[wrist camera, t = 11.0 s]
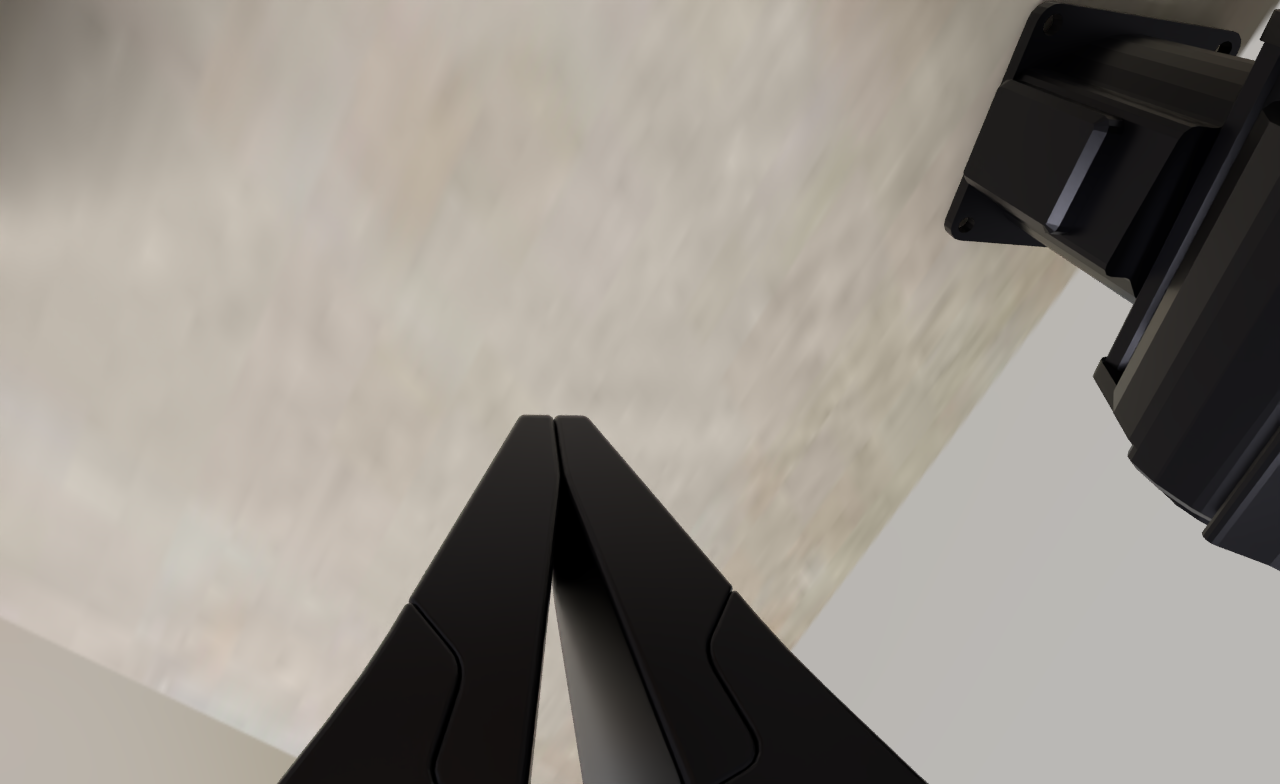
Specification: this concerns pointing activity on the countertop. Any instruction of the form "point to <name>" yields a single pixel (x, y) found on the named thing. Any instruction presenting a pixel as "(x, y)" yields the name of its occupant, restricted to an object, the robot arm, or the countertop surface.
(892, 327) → the countertop surface
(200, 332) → the countertop surface
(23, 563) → the countertop surface
